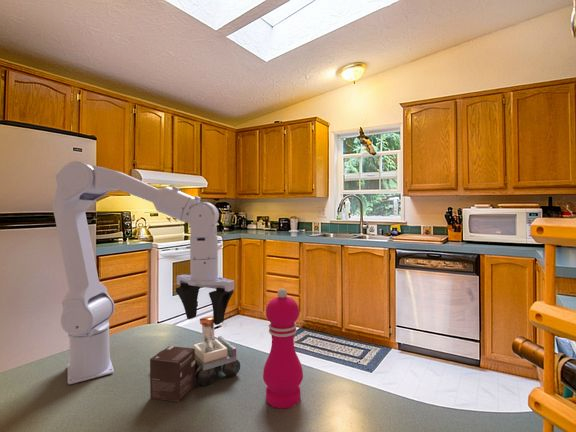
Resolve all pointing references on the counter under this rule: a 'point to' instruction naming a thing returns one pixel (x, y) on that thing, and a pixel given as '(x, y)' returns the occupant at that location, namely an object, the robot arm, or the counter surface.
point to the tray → (206, 357)
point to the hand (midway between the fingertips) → (204, 320)
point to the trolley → (228, 365)
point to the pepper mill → (282, 353)
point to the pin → (208, 334)
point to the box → (172, 373)
